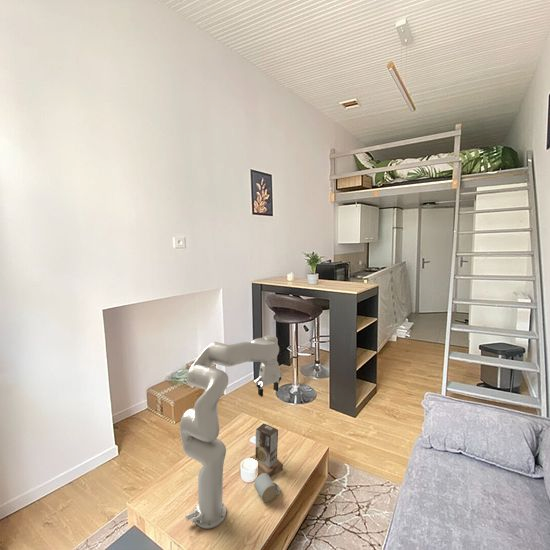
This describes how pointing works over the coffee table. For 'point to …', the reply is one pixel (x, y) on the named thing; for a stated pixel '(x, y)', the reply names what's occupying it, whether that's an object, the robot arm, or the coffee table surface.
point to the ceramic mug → (266, 487)
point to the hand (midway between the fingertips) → (268, 392)
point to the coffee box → (266, 445)
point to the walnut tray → (270, 471)
